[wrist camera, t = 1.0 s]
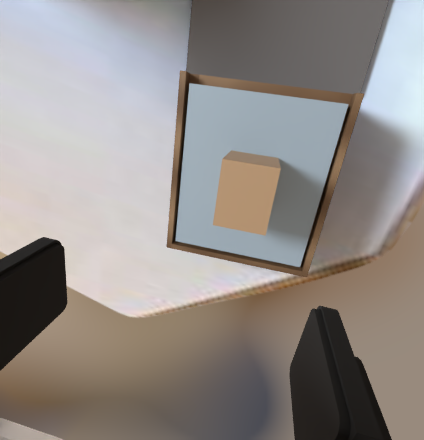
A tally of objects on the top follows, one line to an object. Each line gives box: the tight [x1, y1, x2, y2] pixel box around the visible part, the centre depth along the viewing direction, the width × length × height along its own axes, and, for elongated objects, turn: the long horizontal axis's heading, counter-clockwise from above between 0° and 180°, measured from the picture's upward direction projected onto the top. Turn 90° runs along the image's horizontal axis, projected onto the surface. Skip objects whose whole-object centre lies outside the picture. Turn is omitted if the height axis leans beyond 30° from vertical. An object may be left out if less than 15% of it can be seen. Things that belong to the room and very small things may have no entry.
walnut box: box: [167, 71, 364, 277], centre depth 27 cm, size 16×14×7 cm
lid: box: [176, 83, 348, 267], centre depth 22 cm, size 14×12×6 cm
